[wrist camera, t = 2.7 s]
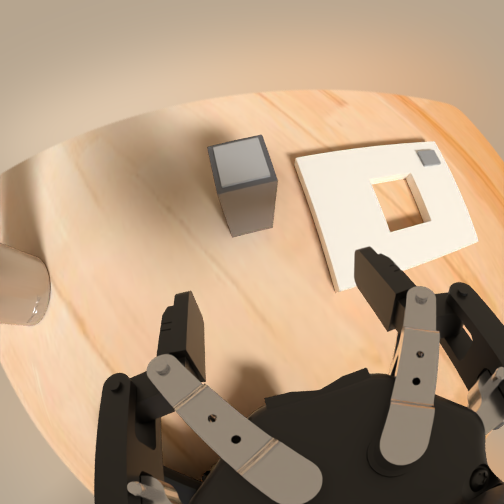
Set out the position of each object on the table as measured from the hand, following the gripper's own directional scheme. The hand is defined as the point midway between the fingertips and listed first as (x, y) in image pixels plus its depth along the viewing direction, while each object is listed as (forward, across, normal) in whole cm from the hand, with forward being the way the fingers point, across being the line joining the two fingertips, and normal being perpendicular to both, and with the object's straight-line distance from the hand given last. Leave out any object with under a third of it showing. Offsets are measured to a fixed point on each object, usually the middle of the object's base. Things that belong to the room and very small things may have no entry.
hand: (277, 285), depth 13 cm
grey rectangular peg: (+15, 0, +3) cm, 15 cm away
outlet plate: (+13, -16, +4) cm, 21 cm away
